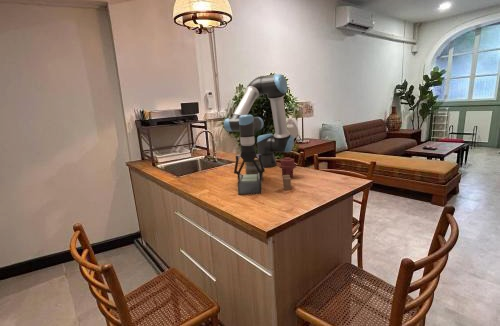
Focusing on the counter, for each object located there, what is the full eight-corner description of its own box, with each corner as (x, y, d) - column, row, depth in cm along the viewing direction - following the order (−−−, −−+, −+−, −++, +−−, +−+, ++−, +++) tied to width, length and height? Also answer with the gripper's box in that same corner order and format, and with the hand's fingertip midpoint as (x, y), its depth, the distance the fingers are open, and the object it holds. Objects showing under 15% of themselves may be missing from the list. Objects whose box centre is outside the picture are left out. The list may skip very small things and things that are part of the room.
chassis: (240, 185, 157) (240, 174, 156) (261, 184, 156) (261, 173, 155) (238, 194, 141) (237, 182, 140) (261, 194, 141) (260, 181, 139)
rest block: (283, 185, 152) (282, 175, 151) (289, 185, 152) (289, 174, 151) (284, 189, 145) (283, 179, 143) (291, 189, 144) (290, 178, 143)
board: (243, 178, 154) (243, 174, 153) (257, 177, 153) (257, 174, 153) (241, 184, 142) (241, 180, 142) (257, 183, 142) (256, 180, 141)
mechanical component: (298, 176, 169) (291, 180, 161) (284, 174, 175) (276, 178, 167) (298, 156, 166) (290, 160, 158) (284, 155, 172) (275, 158, 164)
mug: (262, 183, 160) (261, 163, 157) (244, 183, 162) (243, 163, 159) (265, 175, 175) (264, 157, 172) (249, 176, 177) (248, 157, 174)
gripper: (226, 146, 140) (229, 188, 145) (268, 144, 139) (270, 186, 144) (228, 144, 148) (231, 184, 153) (268, 142, 146) (270, 182, 151)
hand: (250, 185), depth 148 cm, fingers open, 9 cm apart
